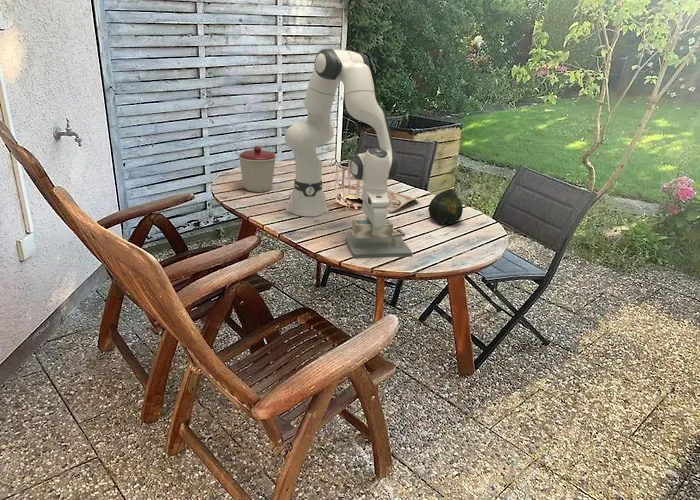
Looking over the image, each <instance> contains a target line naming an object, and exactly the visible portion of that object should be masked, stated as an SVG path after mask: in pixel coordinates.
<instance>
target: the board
mask: <svg viewBox="0 0 700 500" xmlns="http://www.w3.org/2000/svg"><path fill="white" fill-rule="evenodd" d="M392 234H398V233H397V230H393V231H392ZM344 242H345V245H346V246H347V248H348V250H349V253H350V254H351V257H352V258H353V259H365V258H366V259H367V258H368V259H371V258H373V259H375V258H403V257H404V258H407V257H413V253H414V252H413V251H412V249H410V247H409V246H408V245H407V243H406V242H405V241H404V239H403V238H402V237H385V238H354V236H347V237H344Z"/></svg>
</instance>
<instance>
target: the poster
mask: <svg viewBox="0 0 700 500" xmlns="http://www.w3.org/2000/svg"><path fill="white" fill-rule="evenodd" d="M387 193H388V194H387V196H388V199H389V207H387V214H391V213H394V212H397V211H398V210H399V209H400V208H401V207H403V206H404V205H406V204H408V203H409V202H411V201H414V200H418V199H419V197H418V196H416V197H410V196H407V195H403V194H402V193H401V194H400V193H398V192H394V191H393V190H388V189H387Z"/></svg>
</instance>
